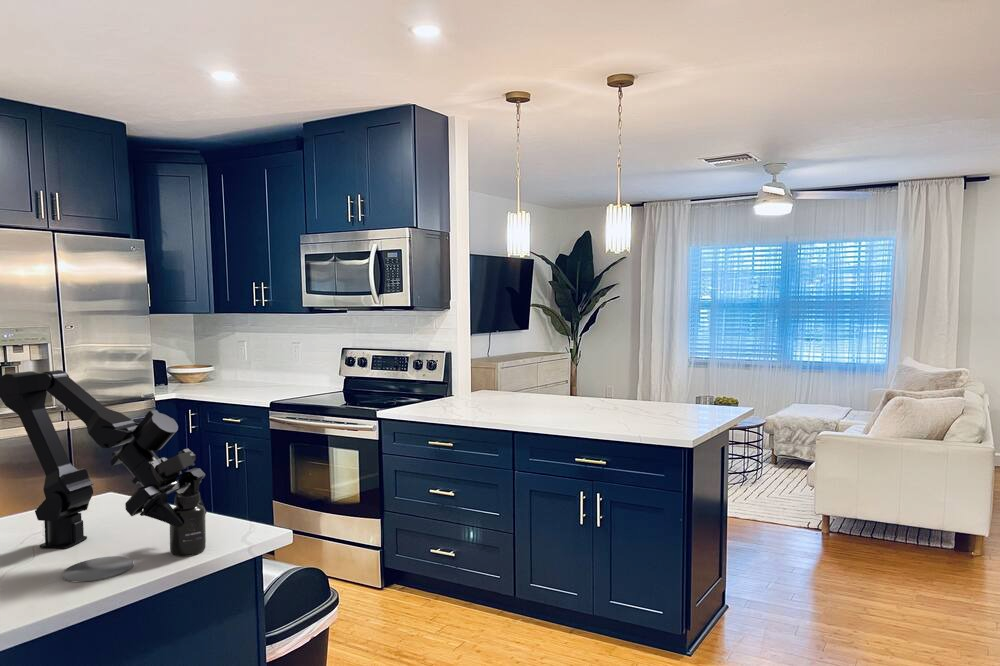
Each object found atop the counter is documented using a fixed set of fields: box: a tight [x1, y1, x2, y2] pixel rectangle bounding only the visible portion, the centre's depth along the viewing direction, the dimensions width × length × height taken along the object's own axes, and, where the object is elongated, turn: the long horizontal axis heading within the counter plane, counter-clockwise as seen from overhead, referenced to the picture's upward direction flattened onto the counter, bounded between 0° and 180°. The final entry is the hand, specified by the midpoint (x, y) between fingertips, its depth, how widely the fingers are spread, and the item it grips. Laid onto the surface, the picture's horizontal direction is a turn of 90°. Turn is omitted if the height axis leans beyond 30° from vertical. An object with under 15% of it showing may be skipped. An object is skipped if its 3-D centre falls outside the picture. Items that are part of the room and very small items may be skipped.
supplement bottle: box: [169, 492, 207, 557], centre depth 144 cm, size 7×7×12 cm
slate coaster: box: [61, 555, 135, 582], centre depth 135 cm, size 12×12×1 cm
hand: (193, 520), depth 144 cm, fingers open, 7 cm apart
